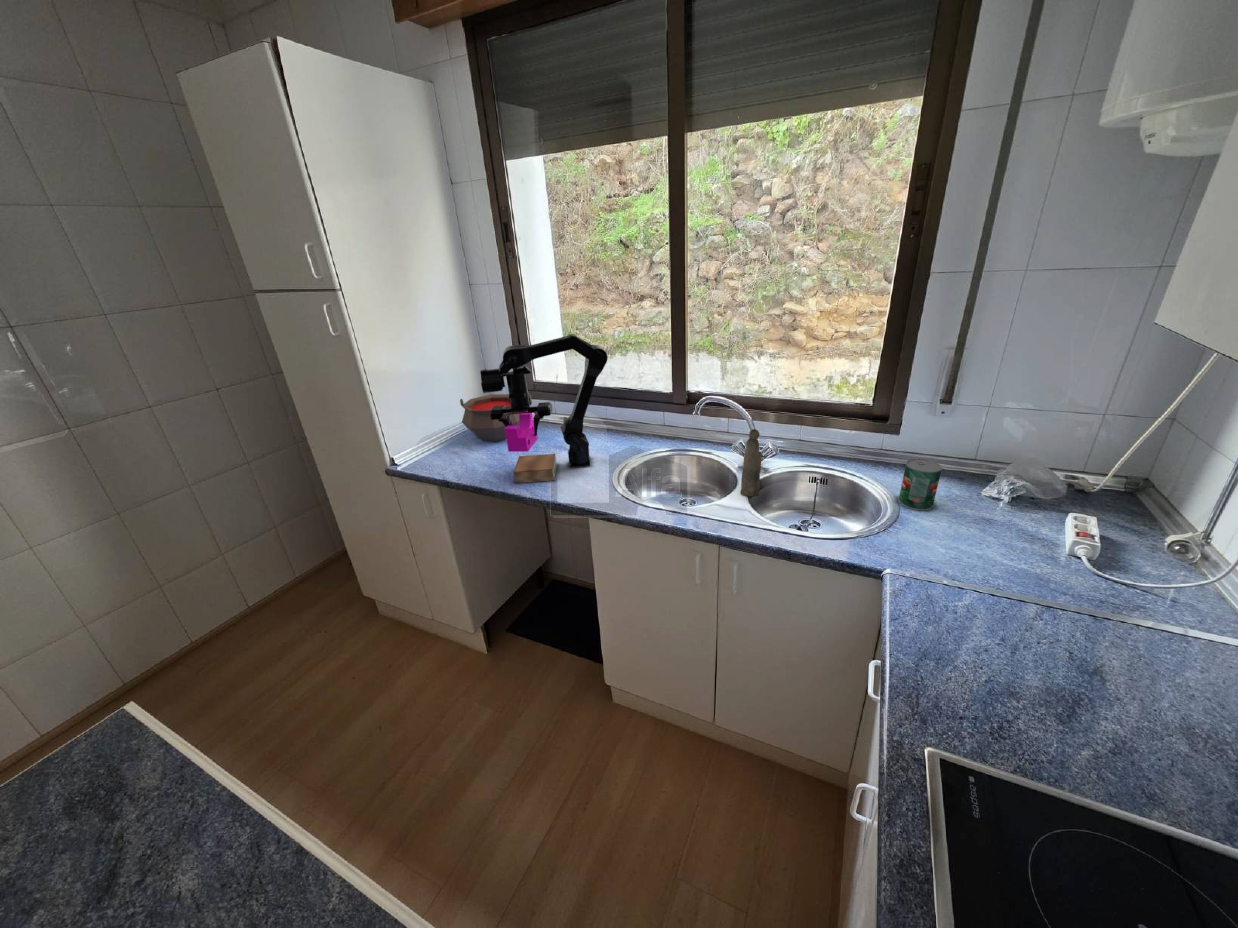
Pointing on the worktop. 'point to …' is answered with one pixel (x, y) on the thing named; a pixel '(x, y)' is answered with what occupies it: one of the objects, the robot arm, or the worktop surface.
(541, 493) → the worktop surface
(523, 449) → the toy block
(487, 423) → the brown faceted pot
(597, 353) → the robot arm
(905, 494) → the canned tomato
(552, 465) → the plinth
